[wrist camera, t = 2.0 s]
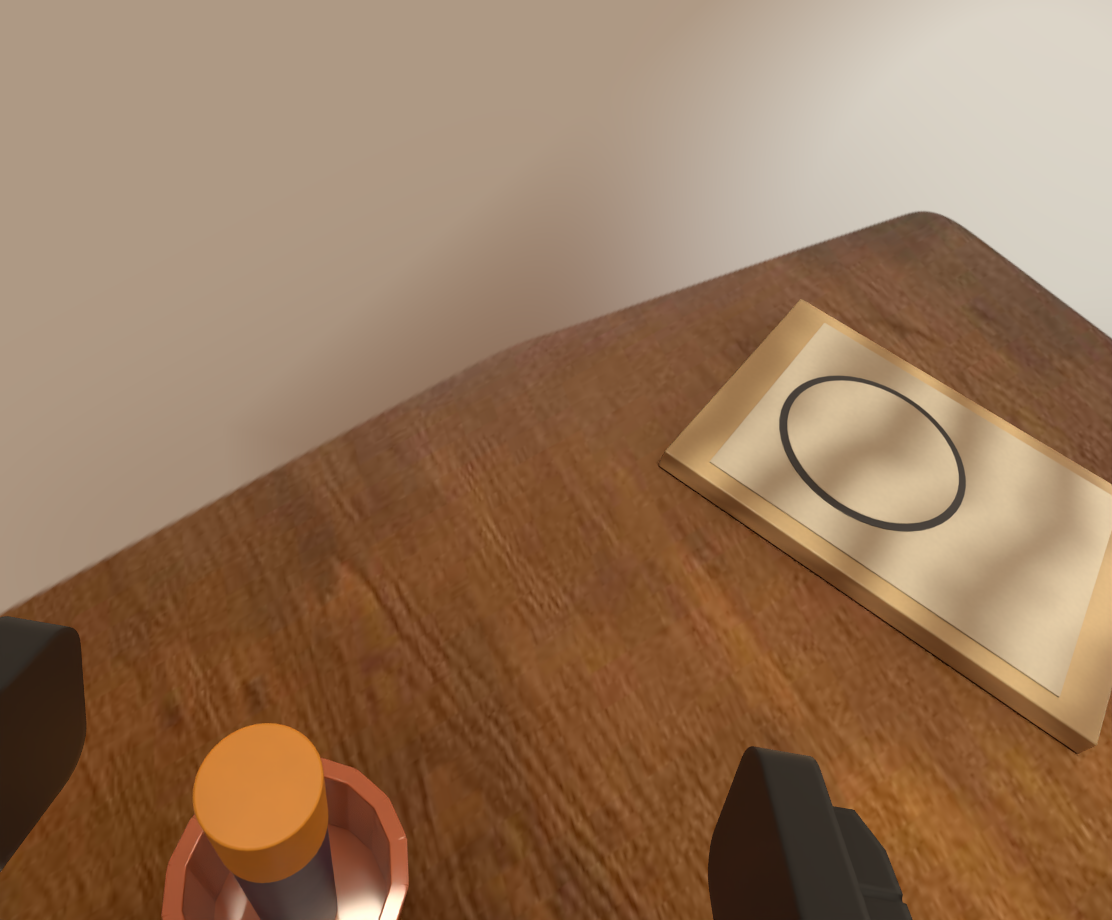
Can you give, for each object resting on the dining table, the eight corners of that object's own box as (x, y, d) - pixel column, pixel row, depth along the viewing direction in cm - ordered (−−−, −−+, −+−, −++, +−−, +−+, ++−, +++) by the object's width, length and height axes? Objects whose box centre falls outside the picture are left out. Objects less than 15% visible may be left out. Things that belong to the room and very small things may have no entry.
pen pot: (154, 932, 26) (108, 897, 21) (306, 773, 29) (295, 713, 24) (297, 1080, 24) (282, 1079, 19) (438, 894, 28) (455, 855, 23)
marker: (247, 916, 26) (163, 792, 15) (302, 854, 27) (264, 698, 16) (299, 969, 25) (253, 879, 14) (354, 902, 27) (349, 775, 16)
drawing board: (657, 465, 41) (665, 448, 40) (792, 313, 50) (802, 295, 49) (1077, 754, 35) (1100, 744, 34) (1142, 524, 45) (1162, 510, 43)
